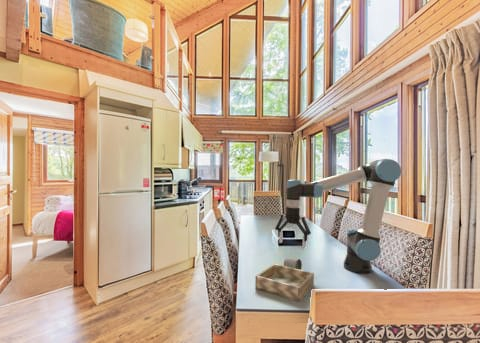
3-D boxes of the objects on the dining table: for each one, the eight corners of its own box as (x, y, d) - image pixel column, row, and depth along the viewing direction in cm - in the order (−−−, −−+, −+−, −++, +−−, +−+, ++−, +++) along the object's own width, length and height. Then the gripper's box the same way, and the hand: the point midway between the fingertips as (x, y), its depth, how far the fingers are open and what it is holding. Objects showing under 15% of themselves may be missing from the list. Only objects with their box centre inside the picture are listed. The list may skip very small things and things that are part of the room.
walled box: (313, 285, 124) (313, 272, 125) (299, 302, 108) (300, 288, 108) (273, 274, 136) (273, 263, 136) (255, 288, 120) (255, 276, 120)
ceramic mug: (289, 267, 147) (289, 254, 147) (302, 271, 142) (302, 257, 142) (279, 273, 139) (279, 259, 139) (293, 277, 134) (293, 262, 134)
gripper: (270, 205, 145) (269, 242, 145) (313, 210, 131) (312, 250, 131) (275, 204, 151) (274, 239, 151) (317, 208, 138) (316, 247, 138)
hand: (292, 244), depth 141 cm, fingers open, 13 cm apart
